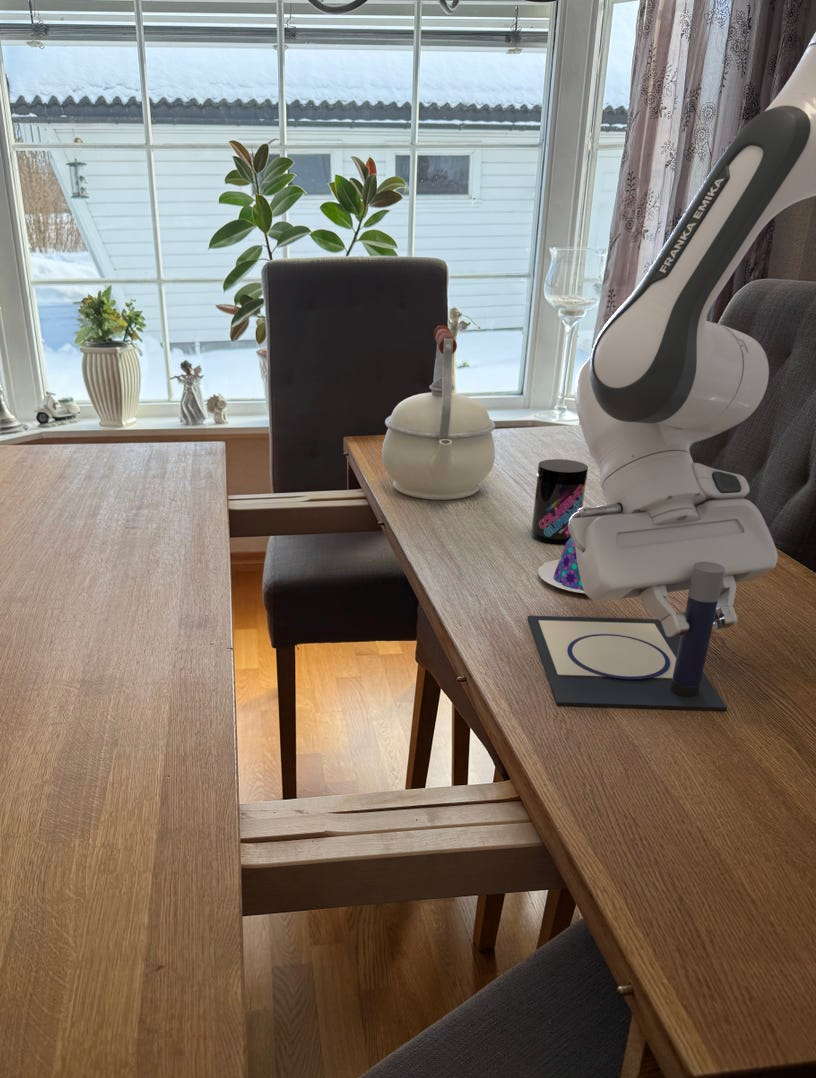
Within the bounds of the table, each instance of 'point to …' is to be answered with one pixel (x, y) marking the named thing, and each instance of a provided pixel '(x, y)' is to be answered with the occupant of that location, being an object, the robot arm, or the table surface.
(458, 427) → the kettle
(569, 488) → the supplement container
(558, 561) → the pudding
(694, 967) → the table surface
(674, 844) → the table surface
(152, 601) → the table surface
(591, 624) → the drawing mat
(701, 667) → the marker
